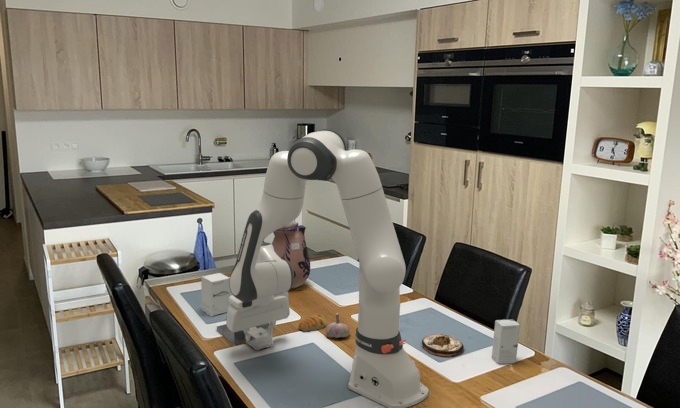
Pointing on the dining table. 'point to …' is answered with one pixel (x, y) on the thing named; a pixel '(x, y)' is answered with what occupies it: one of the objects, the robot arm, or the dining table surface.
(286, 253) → the ceramic pitcher
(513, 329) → the skincare box
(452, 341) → the brown flat two-tone disc
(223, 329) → the gunmetal leaf
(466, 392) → the dining table surface
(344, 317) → the dining table surface
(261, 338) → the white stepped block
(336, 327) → the garlic bulb
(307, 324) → the pastry
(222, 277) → the supplement box
